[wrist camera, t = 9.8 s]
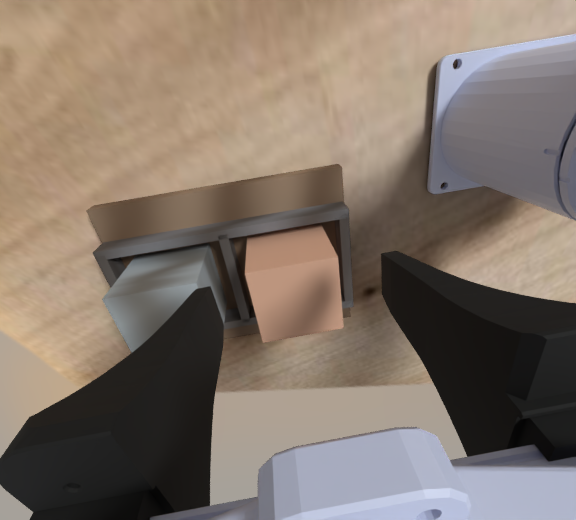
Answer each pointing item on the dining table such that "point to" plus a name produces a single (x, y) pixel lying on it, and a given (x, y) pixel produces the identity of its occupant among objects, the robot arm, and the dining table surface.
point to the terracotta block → (294, 282)
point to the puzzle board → (209, 245)
